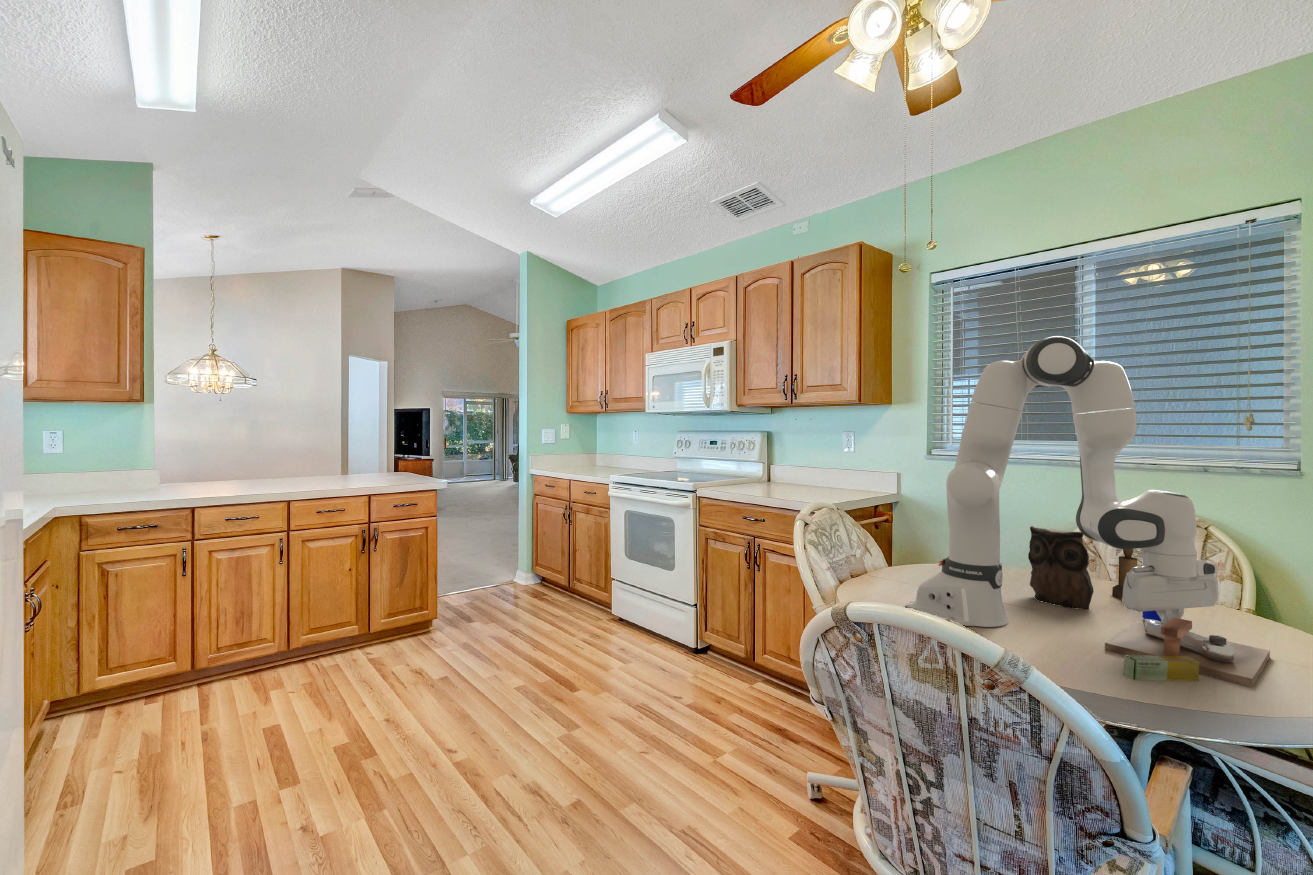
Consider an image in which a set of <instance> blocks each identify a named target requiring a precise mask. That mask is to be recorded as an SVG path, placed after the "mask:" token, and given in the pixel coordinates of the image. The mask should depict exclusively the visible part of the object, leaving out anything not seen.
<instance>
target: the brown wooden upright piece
mask: <svg viewBox="0 0 1313 875" xmlns="http://www.w3.org/2000/svg"><path fill="white" fill-rule="evenodd" d="M1122 551H1123V552H1122V553H1123V555H1120V556H1118V579H1117V580H1118V584H1116V585H1115V586H1113V587H1112V592H1111V594H1112V597H1115V598H1116V599H1120V600H1122V597H1123V587H1124V581H1125V578H1126V574H1127V572H1129V571H1130V570H1131V569H1132V568H1133V567H1138V557H1132V556H1133V553H1134V549H1122ZM1132 572H1133V571H1132Z"/></svg>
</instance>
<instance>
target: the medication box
mask: <svg viewBox="0 0 1313 875" xmlns="http://www.w3.org/2000/svg"><path fill="white" fill-rule="evenodd" d="M1122 666H1123V668H1122V670H1123V671H1122V675H1124V677H1127V678H1128V679H1131V680H1134V681H1135V680H1136V681H1139V680H1140V681H1186V682H1187V681H1188V682H1189V681H1191V682H1192V681H1193V682H1194V681H1195V682H1197V681H1200V679H1199V677H1200V676H1199V675H1200V674H1199V662H1198V661H1196V660H1194V659H1192V658H1190V657H1188V656H1150V655H1124V654H1123V665H1122Z"/></svg>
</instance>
